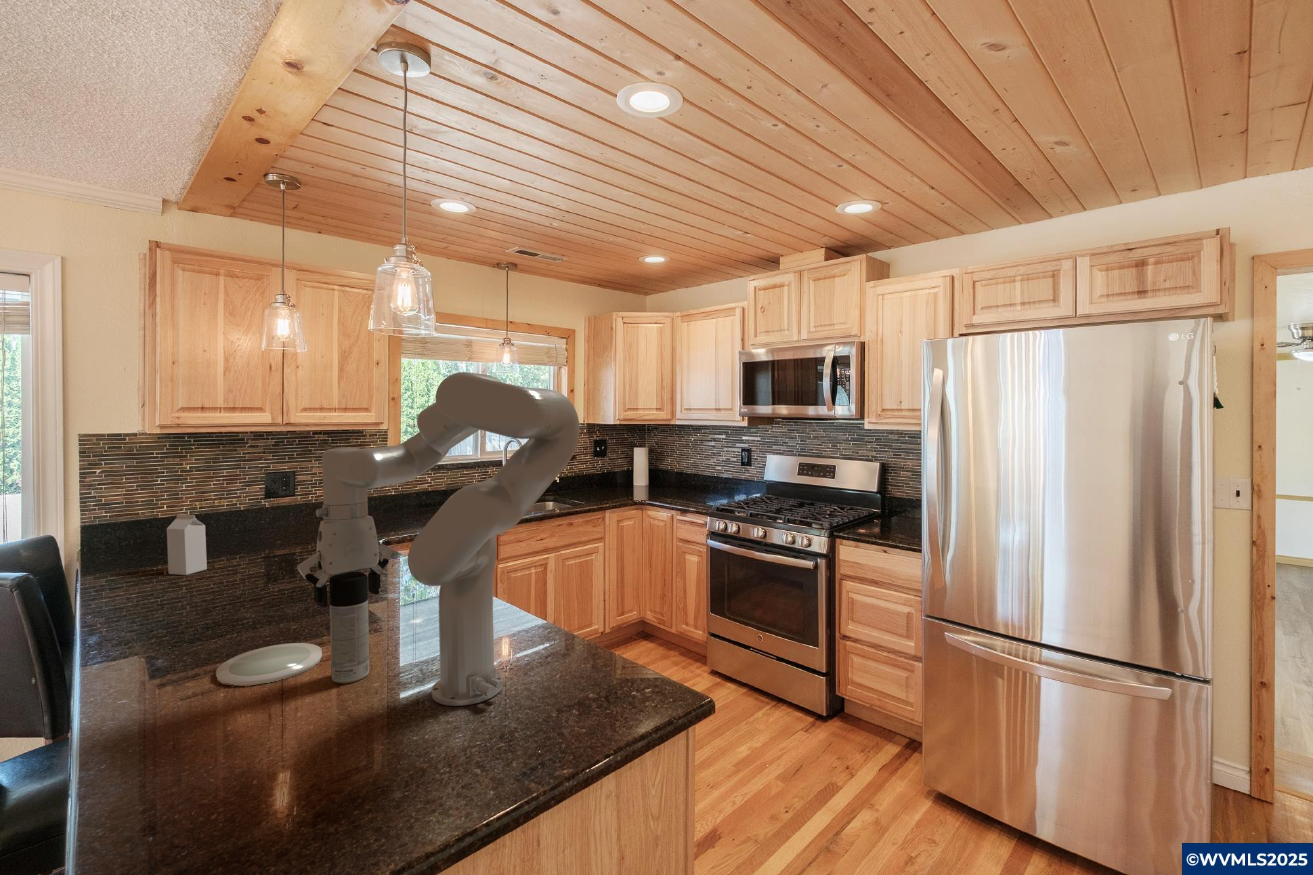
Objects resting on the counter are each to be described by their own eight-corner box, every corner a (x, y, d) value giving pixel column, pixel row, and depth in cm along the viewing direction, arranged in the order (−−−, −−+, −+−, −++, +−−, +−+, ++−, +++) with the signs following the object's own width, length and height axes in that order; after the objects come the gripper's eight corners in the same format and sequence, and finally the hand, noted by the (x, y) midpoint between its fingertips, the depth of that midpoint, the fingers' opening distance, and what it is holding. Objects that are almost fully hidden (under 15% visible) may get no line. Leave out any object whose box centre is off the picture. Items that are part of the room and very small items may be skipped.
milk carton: (186, 575, 189) (183, 516, 188) (168, 574, 190) (165, 516, 189) (207, 569, 196) (205, 513, 195) (189, 568, 197) (187, 512, 196)
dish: (336, 662, 121) (336, 656, 121) (232, 695, 107) (232, 688, 107) (302, 641, 132) (302, 636, 132) (204, 669, 118) (204, 662, 118)
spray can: (360, 666, 119) (357, 569, 118) (376, 675, 115) (373, 574, 114) (325, 677, 114) (322, 576, 113) (340, 688, 110) (337, 582, 109)
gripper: (304, 520, 104) (307, 615, 105) (399, 508, 117) (401, 592, 118) (288, 516, 109) (291, 607, 109) (381, 504, 122) (383, 585, 123)
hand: (348, 599), depth 114 cm, fingers open, 9 cm apart
